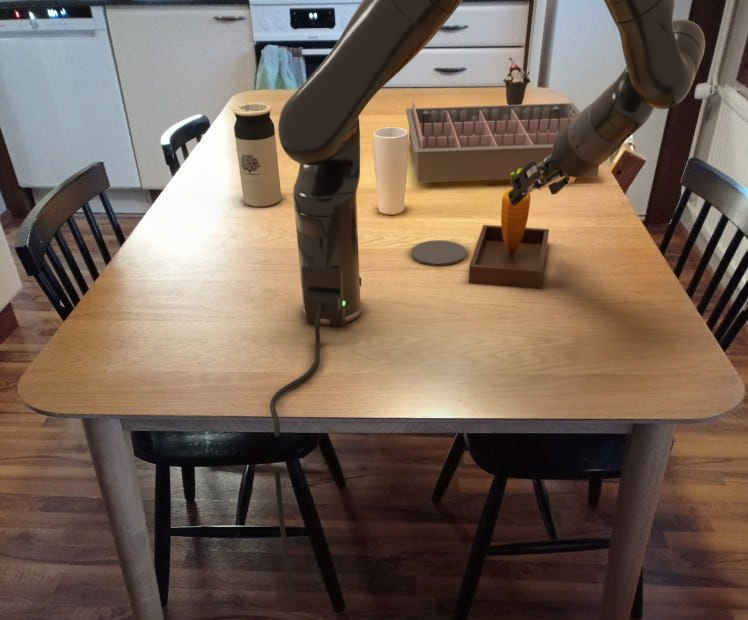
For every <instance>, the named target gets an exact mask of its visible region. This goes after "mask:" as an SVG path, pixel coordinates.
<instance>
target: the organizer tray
mask: <svg viewBox="0 0 748 620" xmlns="http://www.w3.org/2000/svg"><path fill="white" fill-rule="evenodd" d="M411 106H412V107H410V108H406V109H405V114H406V119H407V123H408V142H409V145H410V151H411V155H412V160H413V166H414V170H415V171H414V172H415V175H416V180H417V183H440V182H442V183H443V182H467V181H469V182H470V181H496V180H497V181H500V180H501V181H502V180H511V176H510V175H511V173H512V172H514V173H515V176H516V173H517V171H518V169H519V168H522V170H523V169H524V168H525V167H526V166H527V165H528V164H529V163H530V162H532V161H536V164H537V165H538V164H539V163H541V162H542V161H544V160H545V158H546V157H548V156H549V155H551V154H552V151H553V144H554V141H555V139H556V137H557V136H558V135H559V134H560V133H561V132H562V131H563V130H564V129H565V128H566V127H567V126H568V125H569V124H570V123H571V122H572V121H573V120H574V119H575V118H576V117H577V116H578V115H579V114H580V113H581V111H580V110H579V108H577V107H576V105H575V103H573V102H559V103H558V102H557V103H532V104H531V103H530V104H529V103H528V104H527V103H526V104H521V105H508V104H501V105H500V104H499V105H474V106H473V105H471V106H444V107H443V106H442V107H440V106H439V107H416V105H415V101H414V100H412V102H411ZM599 167H600V166H598V167H597V168H596V169H595V170H594V171H593V172H592V173H590V174H589V175H588V176H586V177H598V175H599ZM586 177H585V178H586ZM539 179H544V178H543V176H542V173H541V177H540V178H539Z"/></svg>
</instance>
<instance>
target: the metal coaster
mask: <svg viewBox="0 0 748 620" xmlns="http://www.w3.org/2000/svg"><path fill="white" fill-rule="evenodd" d="M410 256H411V259H413V260H414V261H415V262H417V263H419V264H423V265H426V266H433V267H444V266H452V265H456V264H458V263H460V262H462V261H464V260H465V258H466V256H467V249H466V248H465V247H464V245H461V244H460V243H457V242H454V241H449V240H428V241H423V242H420V243H418V244H416V245H414V246H413V247H412V248H411V250H410Z"/></svg>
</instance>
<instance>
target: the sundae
mask: <svg viewBox="0 0 748 620" xmlns="http://www.w3.org/2000/svg"><path fill="white" fill-rule="evenodd" d="M508 60H509V61H511V66H510V67H509V68H508V73H506V76H505V77H504V79H503V80H502V81H503V82H504V85H505V97H506V98H505V99H506V105H523V103H524V99H525V94H526V89H527V85H528V84H529V83H531V79H530V78H529V77H528V76H529V75H530V73H531V71H530V70H528V72H527V73H526V74H525V70H524V69H523V68H521V67H520V66H519V65H517V64H516V62H515V61H514V60H513V58H512V57H509V58H508ZM513 65H514V66H513Z"/></svg>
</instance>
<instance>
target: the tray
mask: <svg viewBox="0 0 748 620" xmlns="http://www.w3.org/2000/svg"><path fill="white" fill-rule="evenodd" d="M549 234H550V229H549V228H537V227H526V228H525V231H524V234H523V237H522V240H521V242H520V244H519V246H518V248H517V250H516V251H515V253H514V254H513V255H510V254H509V253H508V252H507V249H506V247H505V244H504V241H503V236H502V227H501V225H493V224H483V225H482V227H481V230H480V232H479V236H478V239H477V243H476V246H475V249H474V251H473V254H472V257H471V260H470V263H469V267H468V269H469V270H468V283H471V284H481V285H492V286H493V285H494V286H495V285H496V286H507V287H519V288H528V289H529V288H531V289H540V288H541V283H542V277H543V272H544V266H545V260H546V255H547V249H548V243H549Z"/></svg>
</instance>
